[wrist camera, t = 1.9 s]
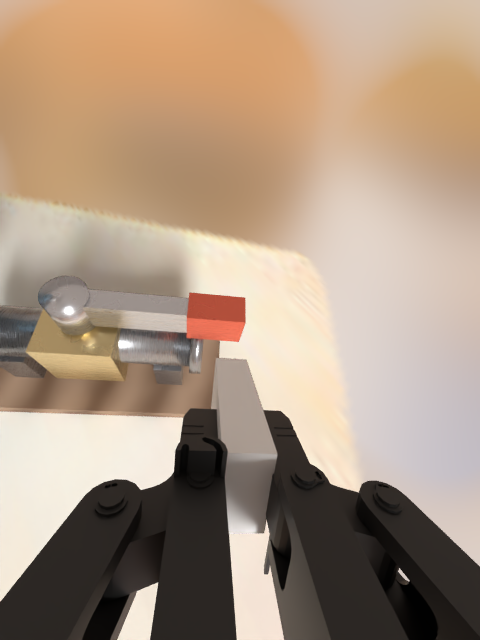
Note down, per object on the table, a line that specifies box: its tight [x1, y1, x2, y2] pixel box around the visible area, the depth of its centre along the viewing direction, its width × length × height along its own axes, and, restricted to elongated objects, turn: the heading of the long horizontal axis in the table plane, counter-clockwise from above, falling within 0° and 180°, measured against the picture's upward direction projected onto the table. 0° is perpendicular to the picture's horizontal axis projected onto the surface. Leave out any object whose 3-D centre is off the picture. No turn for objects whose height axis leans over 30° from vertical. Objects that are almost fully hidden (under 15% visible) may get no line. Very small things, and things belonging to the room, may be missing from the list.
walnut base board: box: [0, 339, 220, 417], centre depth 37 cm, size 28×12×2 cm, turn 89°
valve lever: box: [38, 276, 245, 342], centre depth 26 cm, size 17×4×4 cm, turn 89°
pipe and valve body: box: [0, 305, 203, 385], centre depth 31 cm, size 23×7×10 cm, turn 89°
